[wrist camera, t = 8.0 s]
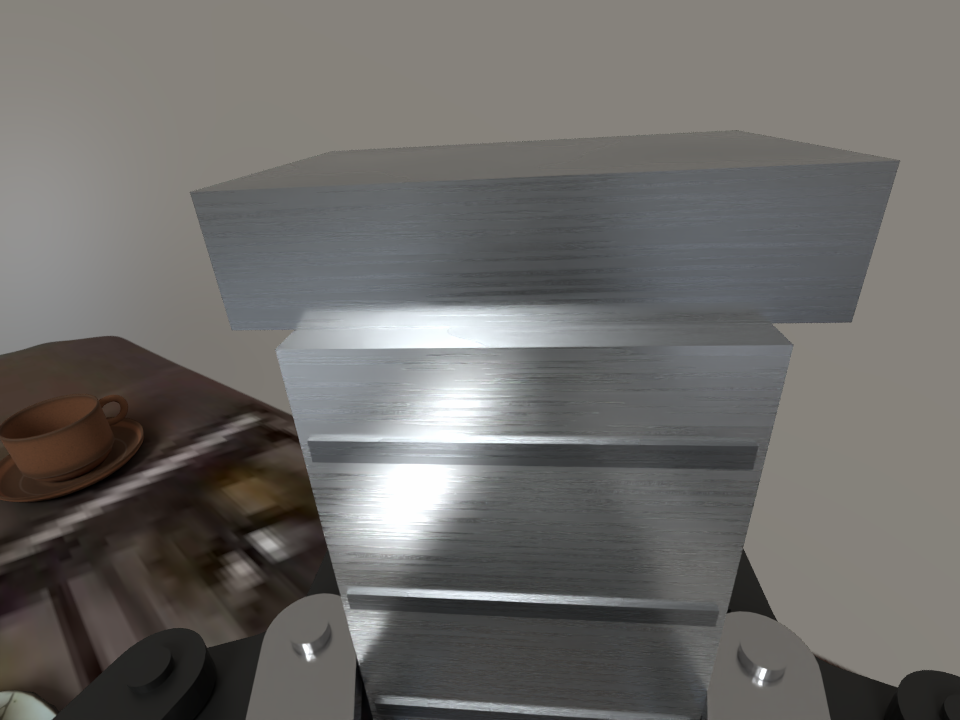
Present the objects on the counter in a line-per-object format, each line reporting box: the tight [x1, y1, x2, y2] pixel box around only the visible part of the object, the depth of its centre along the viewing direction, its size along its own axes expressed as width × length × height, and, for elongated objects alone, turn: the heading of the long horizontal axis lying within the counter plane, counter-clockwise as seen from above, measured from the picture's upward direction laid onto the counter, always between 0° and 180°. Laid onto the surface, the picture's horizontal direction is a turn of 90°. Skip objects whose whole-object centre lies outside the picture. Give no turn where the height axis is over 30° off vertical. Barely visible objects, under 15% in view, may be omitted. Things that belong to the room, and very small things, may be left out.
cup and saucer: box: [0, 394, 144, 502], centre depth 47 cm, size 12×12×6 cm
